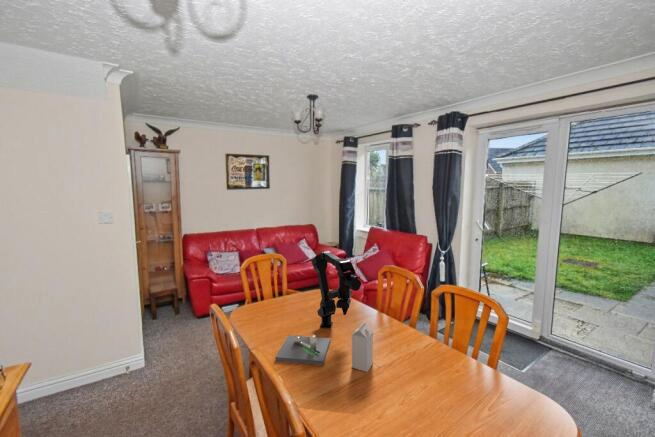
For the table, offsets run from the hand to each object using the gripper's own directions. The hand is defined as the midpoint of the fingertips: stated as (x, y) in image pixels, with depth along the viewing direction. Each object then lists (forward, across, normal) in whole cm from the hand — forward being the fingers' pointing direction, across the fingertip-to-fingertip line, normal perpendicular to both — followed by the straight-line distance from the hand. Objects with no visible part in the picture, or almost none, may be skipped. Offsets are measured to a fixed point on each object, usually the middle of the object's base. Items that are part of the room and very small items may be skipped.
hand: (344, 314), depth 153 cm
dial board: (+13, +14, -18) cm, 26 cm away
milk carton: (+13, +22, +10) cm, 28 cm away
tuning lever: (+10, +15, -17) cm, 25 cm away
